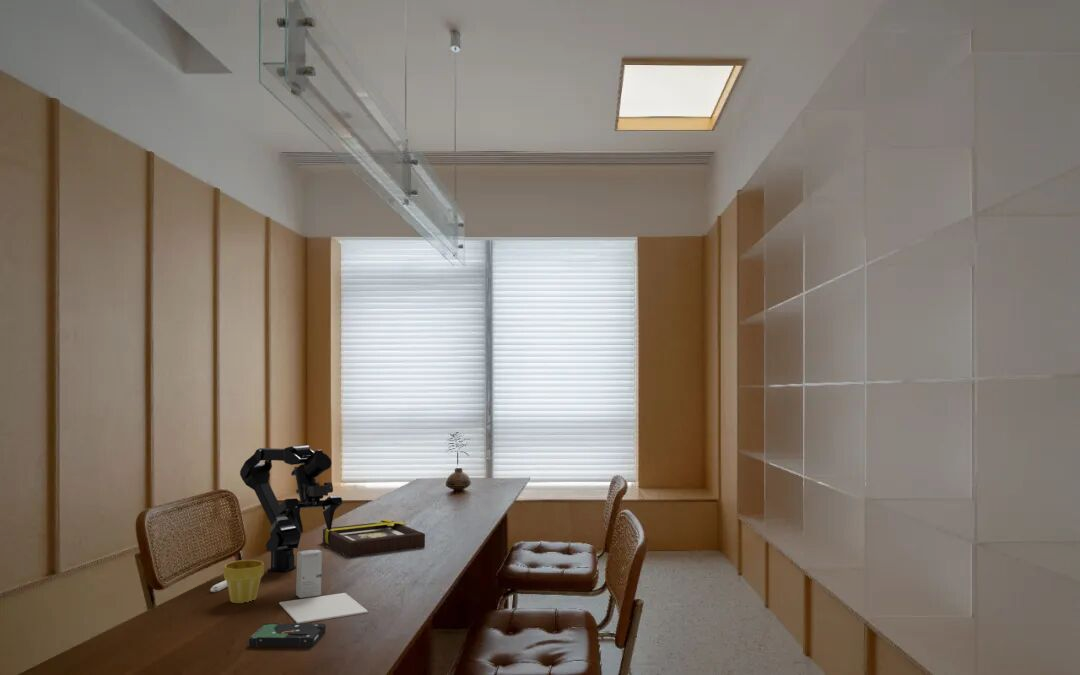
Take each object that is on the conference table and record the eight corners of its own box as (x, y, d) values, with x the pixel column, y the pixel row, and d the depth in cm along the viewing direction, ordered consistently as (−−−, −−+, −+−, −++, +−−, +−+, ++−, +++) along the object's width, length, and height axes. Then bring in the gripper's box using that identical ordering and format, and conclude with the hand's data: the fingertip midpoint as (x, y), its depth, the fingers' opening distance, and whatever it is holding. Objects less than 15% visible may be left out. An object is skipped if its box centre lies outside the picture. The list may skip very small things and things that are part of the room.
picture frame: (321, 525, 287) (396, 517, 304) (321, 543, 287) (396, 534, 304) (348, 539, 264) (428, 529, 281) (348, 559, 264) (428, 548, 280)
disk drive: (325, 635, 186) (264, 634, 186) (326, 623, 186) (264, 622, 186) (312, 650, 175) (247, 649, 176) (313, 637, 176) (247, 636, 176)
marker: (214, 594, 219) (214, 586, 219) (207, 594, 219) (207, 585, 220) (248, 578, 237) (248, 570, 237) (241, 578, 237) (241, 570, 237)
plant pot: (259, 604, 209) (260, 567, 209) (219, 606, 207) (219, 569, 207) (266, 593, 219) (267, 558, 219) (228, 595, 217) (228, 560, 218)
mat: (279, 603, 209) (279, 602, 209) (345, 594, 218) (345, 592, 218) (297, 623, 192) (297, 622, 192) (368, 612, 201) (368, 611, 201)
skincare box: (300, 598, 214) (300, 554, 215) (295, 594, 218) (296, 551, 218) (322, 595, 217) (322, 551, 218) (317, 591, 221) (317, 548, 222)
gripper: (289, 473, 229) (298, 523, 223) (345, 471, 242) (356, 518, 236) (273, 488, 236) (282, 538, 229) (329, 485, 249) (339, 532, 242)
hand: (315, 531), depth 234 cm, fingers open, 9 cm apart
